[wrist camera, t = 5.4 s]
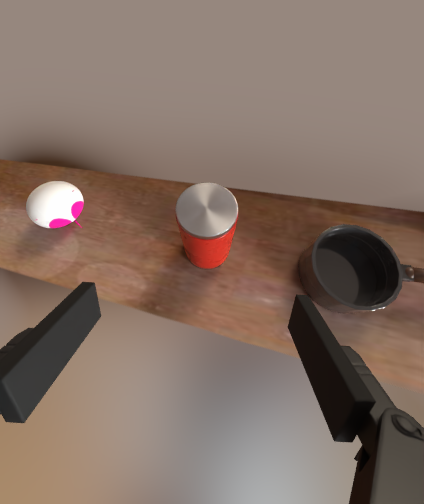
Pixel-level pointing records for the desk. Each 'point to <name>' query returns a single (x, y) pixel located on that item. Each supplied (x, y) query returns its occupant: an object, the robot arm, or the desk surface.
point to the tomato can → (207, 223)
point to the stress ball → (54, 204)
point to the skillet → (350, 270)
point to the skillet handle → (412, 274)
